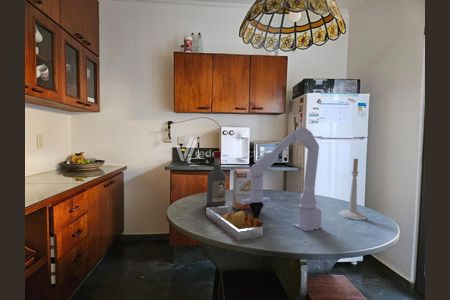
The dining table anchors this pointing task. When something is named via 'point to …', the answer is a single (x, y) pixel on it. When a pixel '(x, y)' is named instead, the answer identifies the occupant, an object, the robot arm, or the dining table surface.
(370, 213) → the dining table surface
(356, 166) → the candlestick
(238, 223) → the croissant
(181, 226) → the dining table surface
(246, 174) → the cracker box
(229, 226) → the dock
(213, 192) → the liquor
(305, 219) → the robot arm
